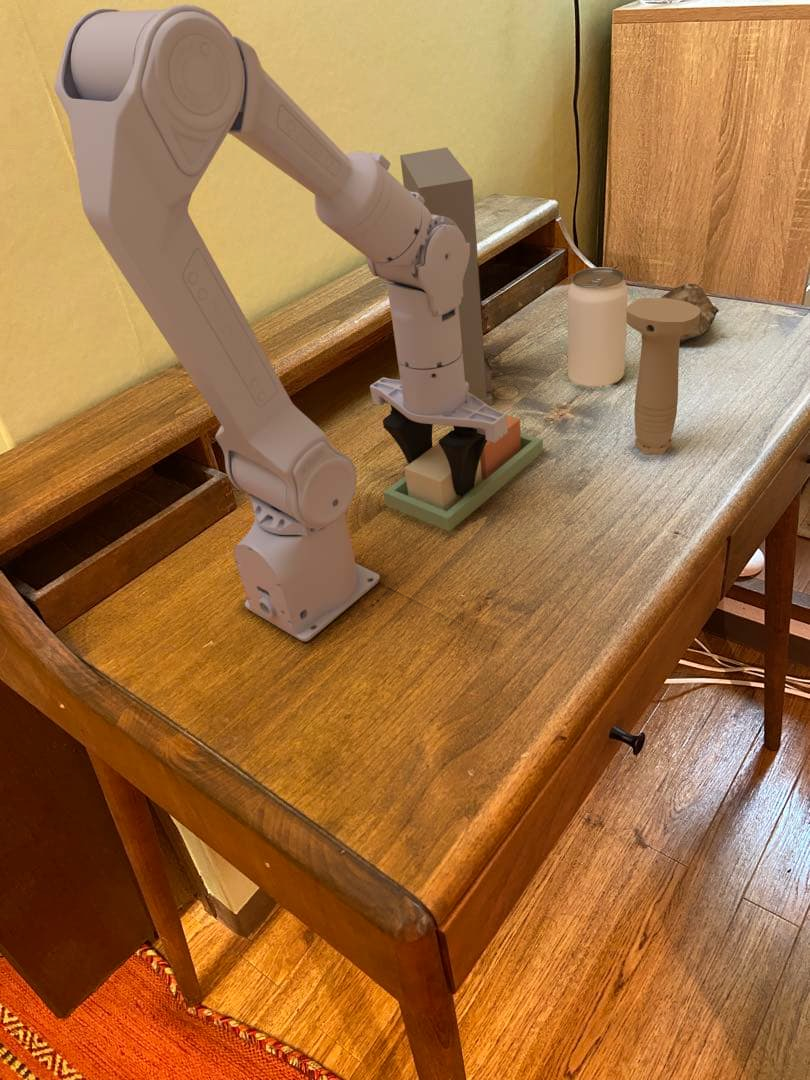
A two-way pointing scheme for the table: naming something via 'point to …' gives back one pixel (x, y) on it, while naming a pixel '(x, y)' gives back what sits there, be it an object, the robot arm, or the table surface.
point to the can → (597, 326)
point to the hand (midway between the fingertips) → (444, 482)
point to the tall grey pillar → (454, 199)
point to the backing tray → (451, 518)
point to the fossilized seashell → (699, 299)
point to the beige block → (434, 479)
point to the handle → (658, 367)
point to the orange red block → (501, 449)
